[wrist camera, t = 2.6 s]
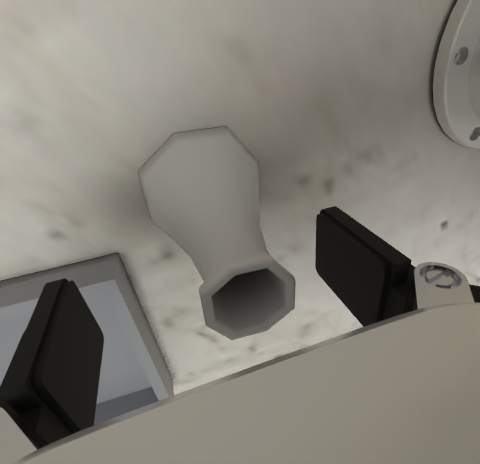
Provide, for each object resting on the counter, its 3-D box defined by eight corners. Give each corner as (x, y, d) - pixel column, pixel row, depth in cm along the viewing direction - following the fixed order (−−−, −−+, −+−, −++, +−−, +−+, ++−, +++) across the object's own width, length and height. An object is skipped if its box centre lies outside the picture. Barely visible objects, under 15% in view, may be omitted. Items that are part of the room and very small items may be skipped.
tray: (118, 252, 18) (114, 279, 16) (172, 379, 26) (174, 409, 23) (-143, 315, 16) (-189, 355, 14) (-1, 434, 23) (-16, 472, 21)
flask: (275, 208, 20) (366, 317, 11) (179, 256, 20) (200, 402, 11) (233, 101, 16) (329, 149, 7) (113, 162, 16) (69, 281, 7)
